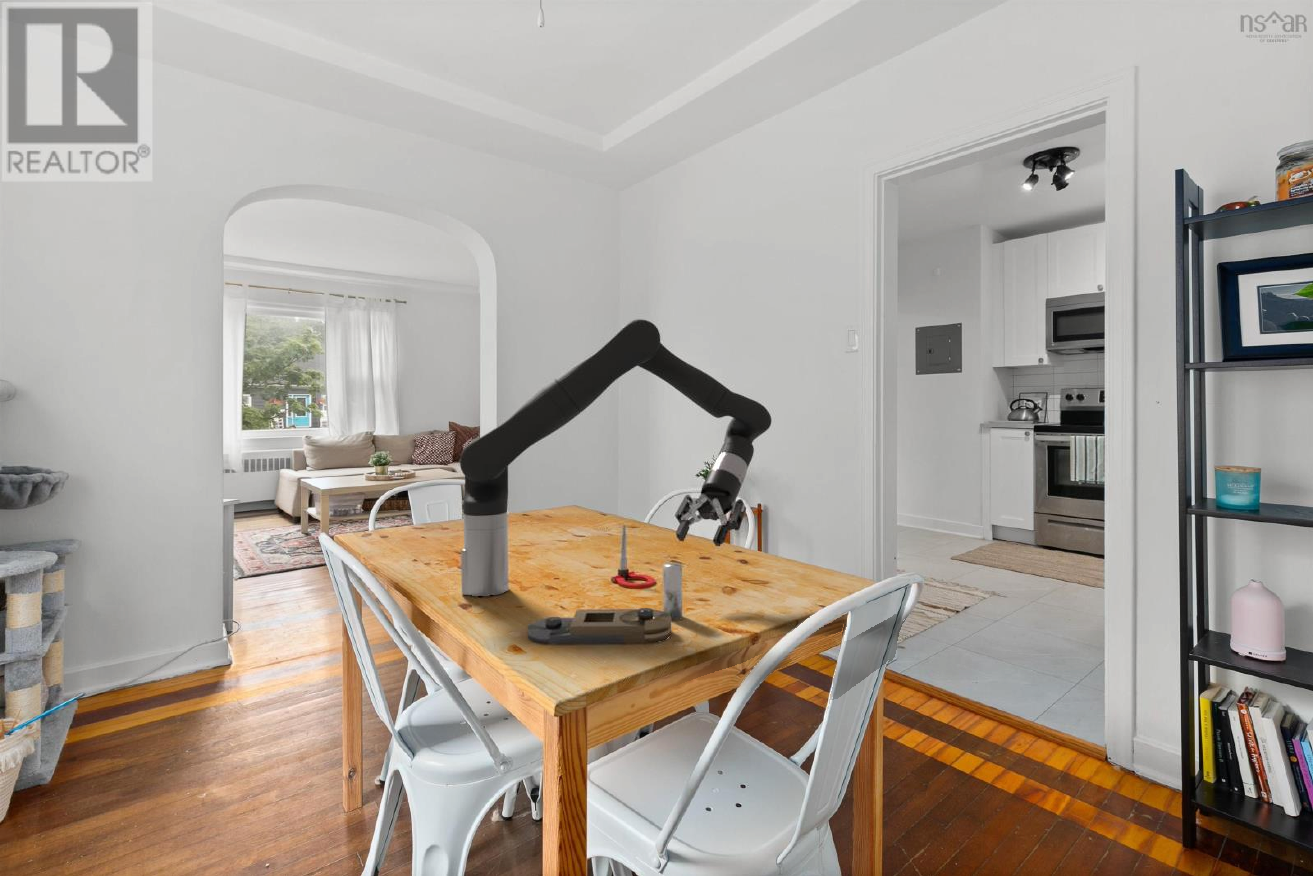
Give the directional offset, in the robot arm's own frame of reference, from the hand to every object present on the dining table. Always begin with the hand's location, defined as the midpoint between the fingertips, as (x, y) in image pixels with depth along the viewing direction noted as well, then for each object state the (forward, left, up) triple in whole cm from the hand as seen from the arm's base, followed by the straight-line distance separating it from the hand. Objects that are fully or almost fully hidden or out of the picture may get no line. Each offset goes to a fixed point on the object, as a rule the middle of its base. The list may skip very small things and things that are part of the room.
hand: (697, 541), depth 125 cm
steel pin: (-5, -7, -13) cm, 16 cm away
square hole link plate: (-18, -16, -13) cm, 28 cm away
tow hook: (-13, +17, -13) cm, 25 cm away
